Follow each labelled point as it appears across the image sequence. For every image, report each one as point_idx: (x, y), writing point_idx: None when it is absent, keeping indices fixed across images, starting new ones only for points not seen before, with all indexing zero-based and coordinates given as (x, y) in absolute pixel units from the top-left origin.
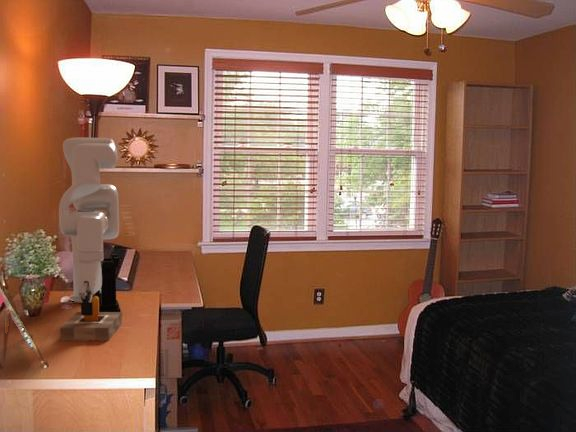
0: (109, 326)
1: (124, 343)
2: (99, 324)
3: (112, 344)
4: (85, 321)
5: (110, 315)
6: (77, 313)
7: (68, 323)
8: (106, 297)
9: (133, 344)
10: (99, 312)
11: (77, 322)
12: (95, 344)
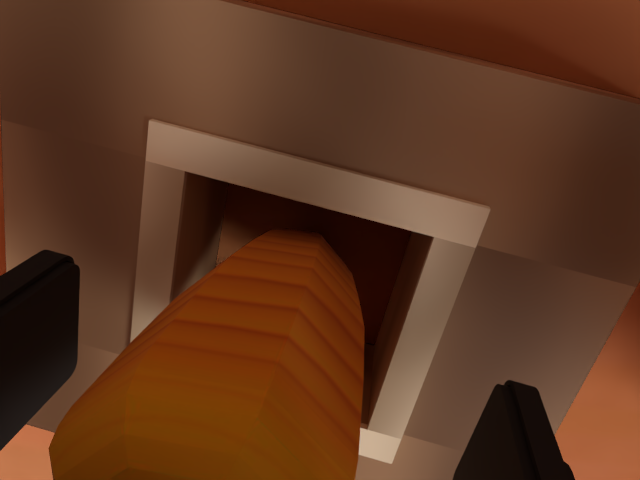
0: (52, 428)
1: (29, 428)
2: (98, 363)
3: None
4: (261, 235)
5: (396, 469)
6: (635, 132)
7: (154, 41)
8: None
9: (13, 467)
10: (563, 388)
11: (155, 156)
12: (2, 265)
